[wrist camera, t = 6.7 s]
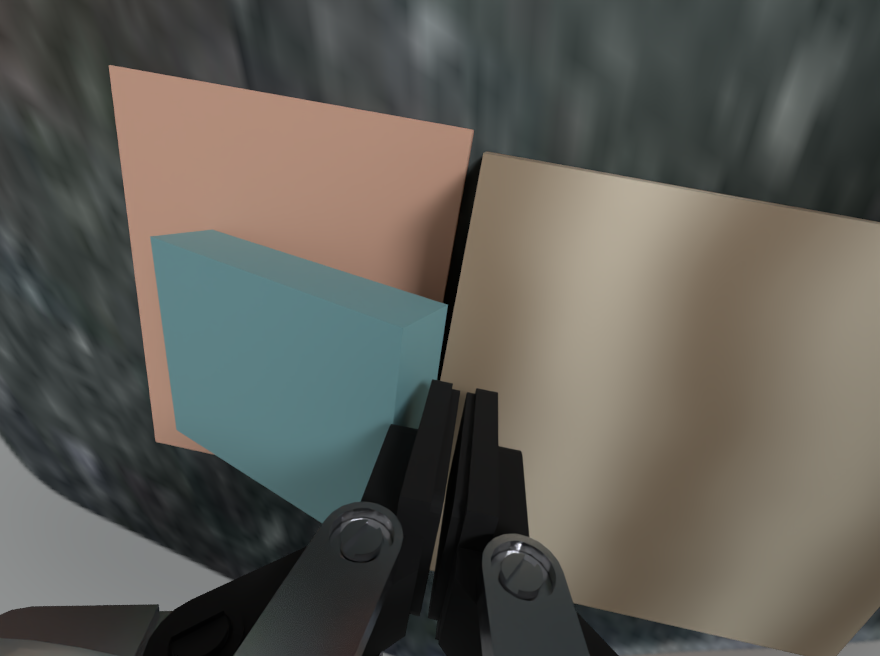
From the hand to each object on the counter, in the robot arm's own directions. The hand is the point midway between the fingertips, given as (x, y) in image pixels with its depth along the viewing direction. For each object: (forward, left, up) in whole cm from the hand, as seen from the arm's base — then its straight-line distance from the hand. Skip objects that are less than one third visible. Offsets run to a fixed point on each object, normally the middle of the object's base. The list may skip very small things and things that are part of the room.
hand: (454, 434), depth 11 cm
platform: (-6, 0, -5) cm, 8 cm away
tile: (+5, +1, -3) cm, 6 cm away
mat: (+7, 0, -5) cm, 8 cm away
